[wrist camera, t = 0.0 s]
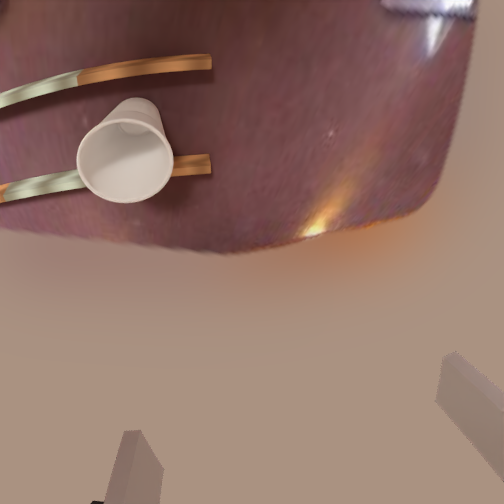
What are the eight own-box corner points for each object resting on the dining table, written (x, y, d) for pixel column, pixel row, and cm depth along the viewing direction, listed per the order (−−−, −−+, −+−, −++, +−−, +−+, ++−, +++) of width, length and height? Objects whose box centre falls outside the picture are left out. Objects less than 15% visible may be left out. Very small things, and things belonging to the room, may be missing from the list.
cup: (155, 160, 40) (151, 214, 33) (89, 138, 35) (67, 188, 28) (189, 99, 35) (191, 140, 28) (115, 71, 30) (92, 105, 23)
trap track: (209, 53, 31) (211, 59, 29) (209, 161, 42) (210, 173, 40) (-73, 126, 23) (-83, 137, 21) (-41, 202, 35) (-48, 214, 33)
